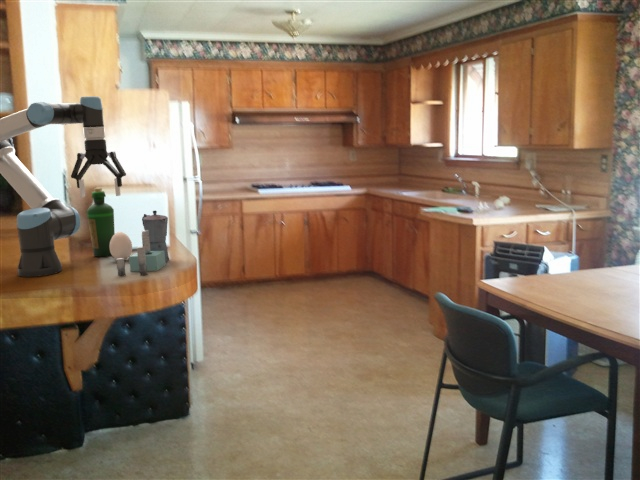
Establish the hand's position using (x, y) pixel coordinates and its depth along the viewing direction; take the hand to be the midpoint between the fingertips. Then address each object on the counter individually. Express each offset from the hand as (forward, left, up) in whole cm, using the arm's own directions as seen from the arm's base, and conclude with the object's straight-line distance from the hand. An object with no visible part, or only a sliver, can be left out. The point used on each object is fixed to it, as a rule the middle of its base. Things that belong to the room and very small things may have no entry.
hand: (100, 196), depth 242 cm
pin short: (+12, -17, -27) cm, 34 cm away
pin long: (+18, -6, -27) cm, 33 cm away
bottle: (-10, +22, -27) cm, 36 cm away
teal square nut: (+18, -6, -27) cm, 33 cm away
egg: (+2, +10, -27) cm, 29 cm away
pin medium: (+20, -17, -27) cm, 37 cm away
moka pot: (+17, +7, -27) cm, 33 cm away
